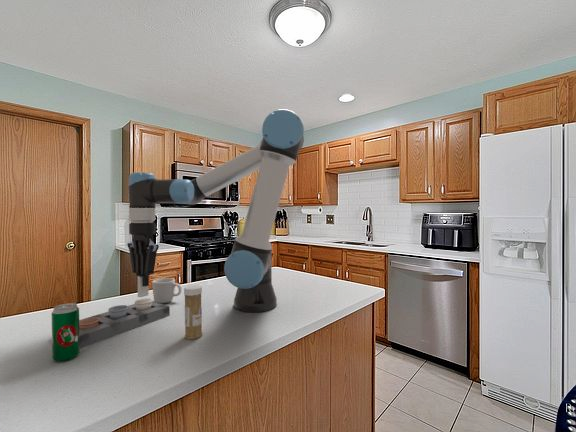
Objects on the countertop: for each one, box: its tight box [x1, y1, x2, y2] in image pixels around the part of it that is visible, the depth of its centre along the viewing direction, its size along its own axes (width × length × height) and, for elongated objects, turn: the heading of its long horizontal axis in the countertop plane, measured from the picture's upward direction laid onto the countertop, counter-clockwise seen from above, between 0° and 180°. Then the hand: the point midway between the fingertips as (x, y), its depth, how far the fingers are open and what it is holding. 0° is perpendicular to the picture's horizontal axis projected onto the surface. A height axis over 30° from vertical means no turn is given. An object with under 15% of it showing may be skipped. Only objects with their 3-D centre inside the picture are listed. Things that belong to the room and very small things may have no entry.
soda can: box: [51, 302, 81, 363], centre depth 67 cm, size 5×5×12 cm
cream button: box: [134, 297, 153, 311], centre depth 93 cm, size 5×5×3 cm
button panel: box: [79, 301, 170, 349], centre depth 86 cm, size 12×26×3 cm, turn 149°
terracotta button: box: [79, 316, 100, 330], centre depth 79 cm, size 5×5×3 cm
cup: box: [151, 277, 183, 304], centre depth 109 cm, size 11×8×8 cm
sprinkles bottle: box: [183, 284, 203, 340], centre depth 78 cm, size 5×5×13 cm
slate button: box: [107, 304, 129, 320], centre depth 86 cm, size 5×5×3 cm
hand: (143, 295), depth 93 cm, fingers closed
